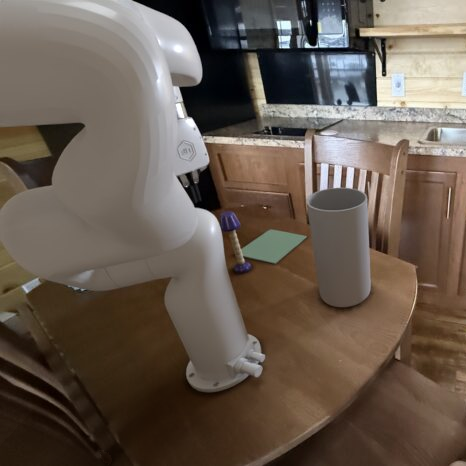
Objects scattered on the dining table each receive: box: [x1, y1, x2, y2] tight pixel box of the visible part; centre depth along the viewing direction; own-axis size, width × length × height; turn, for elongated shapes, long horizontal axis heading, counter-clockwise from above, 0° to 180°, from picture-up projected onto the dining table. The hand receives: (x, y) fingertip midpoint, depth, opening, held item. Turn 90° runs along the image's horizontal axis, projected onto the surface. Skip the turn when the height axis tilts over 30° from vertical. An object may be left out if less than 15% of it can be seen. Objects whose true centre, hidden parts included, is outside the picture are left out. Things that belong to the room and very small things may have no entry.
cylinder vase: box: [306, 187, 372, 308], centre depth 72 cm, size 12×12×25 cm
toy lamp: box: [219, 211, 252, 274], centre depth 82 cm, size 5×5×17 cm
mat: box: [234, 228, 308, 265], centre depth 96 cm, size 14×16×1 cm
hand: (193, 201), depth 69 cm, fingers closed
